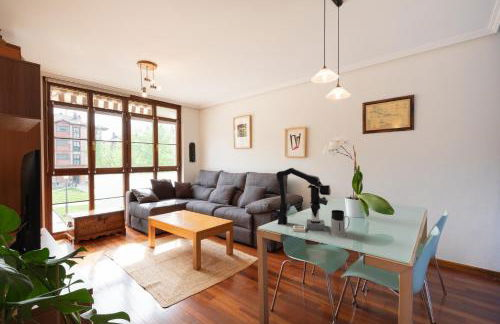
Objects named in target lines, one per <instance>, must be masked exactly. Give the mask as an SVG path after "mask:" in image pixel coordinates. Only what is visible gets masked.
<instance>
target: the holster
mask: <svg viewBox="0 0 500 324" xmlns="http://www.w3.org/2000/svg"><path fill="white" fill-rule="evenodd" d="M292 232H295V233H296V232H298V233H305V232H306V226H305V225H293V227H292Z"/></svg>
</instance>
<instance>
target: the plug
mask: <svg viewBox="0 0 500 324" xmlns="http://www.w3.org/2000/svg"><path fill="white" fill-rule="evenodd" d="M311 220H312V221H319V220H320V209H318V211H317V215H316V217H314V215H313V212H312V211H311Z"/></svg>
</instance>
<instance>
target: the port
mask: <svg viewBox="0 0 500 324" xmlns="http://www.w3.org/2000/svg"><path fill="white" fill-rule="evenodd" d="M306 230H308V231H326V223H325V220H324V219H319V221H312V218H311V219H308V218H307V219H306Z"/></svg>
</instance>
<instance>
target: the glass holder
mask: <svg viewBox="0 0 500 324" xmlns="http://www.w3.org/2000/svg"><path fill="white" fill-rule="evenodd" d="M346 217H347V220H348V223H347V227H345V220H346ZM330 220H331V232H330V235H331V236H332V237H336V236H337V237H338V238H343V237H346V231H347V230H348V229H349V226H350V222H351V221H350V217H349V216H348V215H345V211H344V210H343V209H342V210H341V209H333V210H331V219H330ZM337 237H336V238H337Z"/></svg>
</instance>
